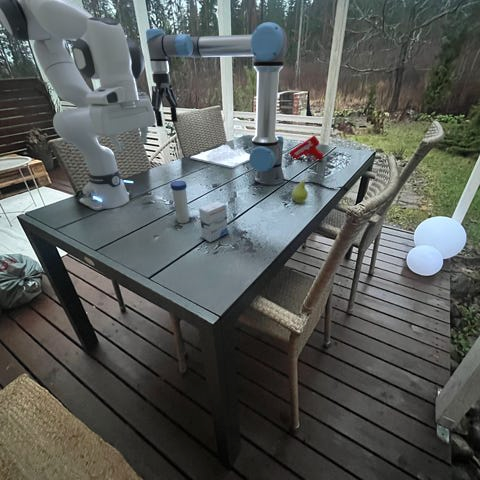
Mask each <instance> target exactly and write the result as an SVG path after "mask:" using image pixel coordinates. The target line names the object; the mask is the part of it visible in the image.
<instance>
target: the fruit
mask: <svg viewBox="0 0 480 480" xmlns="http://www.w3.org/2000/svg"><path fill="white" fill-rule="evenodd" d="M310 177H311V175H310V174H309V175H308V176H307V177H305V179H302V180H301V181H299V182H300V183H299V184H298V183H297V185H296V186H295V187H294V188H293V190H292V191H291V198H292V200H293V201H294V202H295V203H297V204H301V203H304V202H305V201H306V200H307V198H308V196H309V195H308V190H307V189H306V183H305V182H306V180H308V179H309V178H310Z"/></svg>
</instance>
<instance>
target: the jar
mask: <svg viewBox="0 0 480 480" xmlns="http://www.w3.org/2000/svg"><path fill="white" fill-rule="evenodd" d="M171 191H172V196H173V197H172V198H173V203H174V205H173V206H174V211H175V217H176V222H177V223H179V224H186V223H189V222H190V220H191V219H190V211H189V203H188V196H187V195H188V194H187V187H186V188H185V189H183V190H172V189H171Z"/></svg>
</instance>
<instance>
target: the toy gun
mask: <svg viewBox="0 0 480 480" xmlns="http://www.w3.org/2000/svg"><path fill="white" fill-rule="evenodd" d="M319 144H320V141H319V140H318V138H317V136H316V135H312V136H311V137H310V138H308V139H306V140H305V141H302V143H300V144H299V145H297V146H296V147H294V148H293V149H291V150H290V151H289V155H290V157H291V158H292V160H294V161H295V160H298V159H299V158H301V157H302V156H304V157H305V158H308V157H310V156H312V157H313V158H314V159H315V160H316V162H318V163H319V161H322V160H323V157H324V153H323V152H322V151H320V150H319V149H318V148H317V147H318V146H319ZM294 158H296V159H294ZM317 159H319V161H317ZM320 159H321V160H320Z"/></svg>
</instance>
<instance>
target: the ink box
mask: <svg viewBox="0 0 480 480" xmlns="http://www.w3.org/2000/svg"><path fill="white" fill-rule="evenodd" d="M198 213H199V221H200V233H201V237H202V238H203V239H204V240H205V241H207V242H209V243H211V242H213V241H216V240H217V239H219V238H221V237H223V236H226V235H227V234H228V214H227V213H228V211H227V204H226V203H224V202H221V201H219V200H217V201H213V202H211V203H208V204H205V205H204V206H201V207H198Z"/></svg>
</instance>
